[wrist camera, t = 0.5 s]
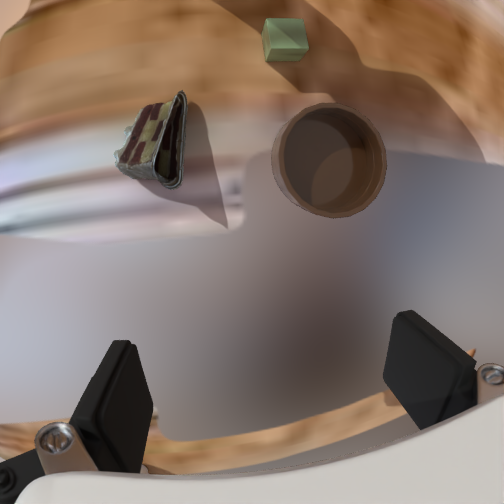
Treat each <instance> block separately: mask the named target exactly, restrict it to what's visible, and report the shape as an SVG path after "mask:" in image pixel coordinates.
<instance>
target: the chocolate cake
mask: <svg viewBox="0 0 504 504" xmlns="http://www.w3.org/2000/svg"><path fill="white" fill-rule="evenodd" d="M187 108H188V105H187V97H186V95H185V93H184V92H183V90H182V91H179V92H178V94H177V95H176V96H174V98H173V100H172V102H168V103H166V104H164V103H156V104H154V105H147V106H146V107H144V108H142V109H141V110H140V112H139V113H138V115H137V117H136V119H135V122H134V124H133V126H129V127H126V129H125V130H124V133H125V134H126V136H127V138H126V140H125V142H124V145H123V147H122V148H121V149H120V150H117V151H115V152H114V154H113V155H114V157H115V158H116V162H115V166H116V167H117V168H118V169H119V171H121V172H122V173H123V174H125V175H127V176H129V177H130V178H132V179H142V178H146V179H157V180H158V181H159V182H160V183H161V184H162V185H163V186H164V187H166V188H168V189H170V190H172V189H173V190H174V189H177V188H179V187H180V186H181V183H182V181H183V171H184V168H183V164H184V147H185V137H186V135H185V128H186V127H185V126H186V125H185V124H186V116H187Z"/></svg>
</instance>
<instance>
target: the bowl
mask: <svg viewBox="0 0 504 504" xmlns="http://www.w3.org/2000/svg"><path fill="white" fill-rule="evenodd" d="M271 165H272V170H273V175H274V178H275V180H276V182H277V185H278V186H279V188H280V189H281V191H282V192H283V193H284V195H285V196H286V197H287V198H288V199H289V200H290V201H291V202H293V203H294V204H296V205H297V206H299V207H301V208H303V209H304V210H306V211H309V212H311V213H314V214H316V215H320V216H324V217H329V218H341V217H349V216H352V215H354V214H356V213H358V212H360V211H362V210H364V209H365V208H366V207H367V206H368V205H369V204H370V203H371V202H372V201H373V200H374V199H375V198H376V197H377V195H378V193H379V191H380V190H381V188H382V186H383V184H384V179H385V175H386V170H387V161H386V150H385V147H384V144H383V142H382V139H381V136H380V134H379V132H378V131H377V129H376V128H375V127H374V125H373V124H372V123H371V122H370V120H369V119H368V118H366V117H365V116H364V115H362V114H361V113H360V112H358V111H357V110H356V109H354V108H351V107H348V106H345V105H342V104H339V103H319V104H317V105H314V106H311V107H308V108H305V109H304V110H302V111H301V112H300V113H298V114H297V115H296V116H294V117H293V118H292V119H291V120H290V121H288V122H287V123H286V124H285V125H284V126H283V127H282V129H281V130H280V131H279V133H278V135H277V137H276V139H275V141H274V144H273V148H272V154H271Z"/></svg>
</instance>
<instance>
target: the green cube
mask: <svg viewBox="0 0 504 504" xmlns="http://www.w3.org/2000/svg"><path fill="white" fill-rule="evenodd" d="M261 35H262V41H263V48H264V55H265V61H266V62H272V61H300V60H301V59H302V57H303V56H304V55H305V53H306V52H307V51H308V49H309V46H308V40H307V35H306V30H305V25H304V20H303V19H292V18H266V21H265V24H264V27H263V30H262V33H261Z"/></svg>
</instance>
